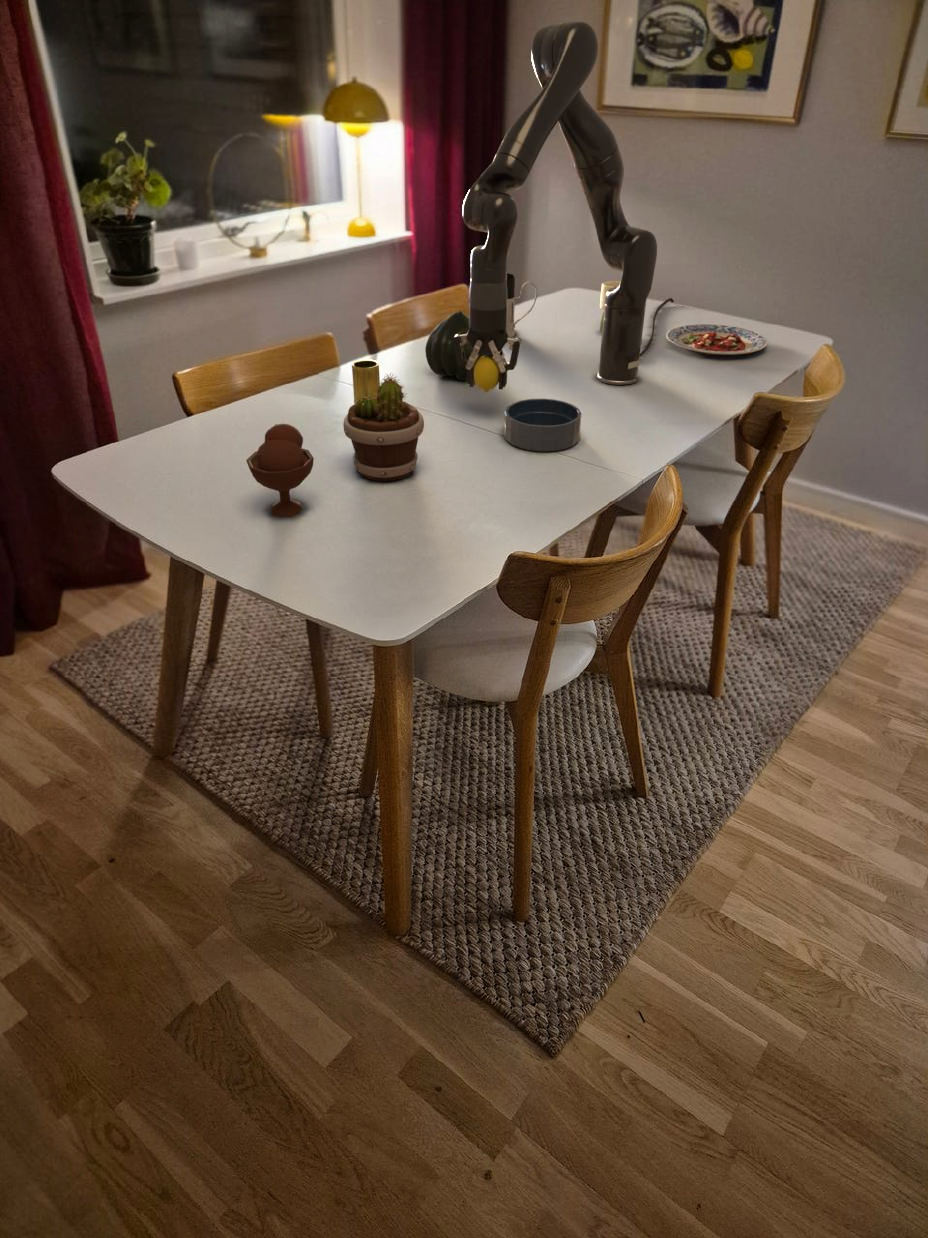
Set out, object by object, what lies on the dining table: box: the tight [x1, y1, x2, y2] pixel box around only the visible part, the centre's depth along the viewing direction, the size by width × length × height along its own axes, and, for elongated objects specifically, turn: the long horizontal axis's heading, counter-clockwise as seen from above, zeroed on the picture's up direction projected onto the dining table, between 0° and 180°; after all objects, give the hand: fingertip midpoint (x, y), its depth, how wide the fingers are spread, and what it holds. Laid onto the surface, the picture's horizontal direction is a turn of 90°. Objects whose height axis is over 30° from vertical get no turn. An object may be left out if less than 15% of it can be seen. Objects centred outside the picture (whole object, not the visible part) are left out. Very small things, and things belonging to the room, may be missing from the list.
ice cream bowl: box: [245, 423, 315, 518], centre depth 141 cm, size 11×11×15 cm
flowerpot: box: [342, 372, 425, 482], centre depth 153 cm, size 14×15×20 cm
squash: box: [424, 310, 482, 381], centre depth 200 cm, size 14×15×15 cm
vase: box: [351, 359, 381, 405], centre depth 169 cm, size 6×6×14 cm
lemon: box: [473, 355, 500, 393], centre depth 173 cm, size 6×6×8 cm
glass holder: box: [506, 272, 538, 338], centre depth 226 cm, size 9×14×15 cm, turn 82°
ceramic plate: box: [666, 323, 769, 357], centre depth 221 cm, size 26×26×3 cm
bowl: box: [503, 398, 582, 453], centre depth 170 cm, size 15×15×6 cm
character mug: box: [598, 280, 621, 333], centre depth 227 cm, size 11×7×13 cm, turn 146°
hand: (486, 386), depth 175 cm, fingers closed on lemon, 5 cm apart
